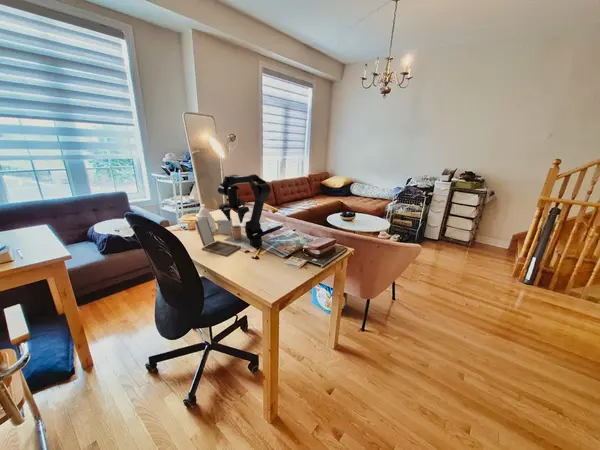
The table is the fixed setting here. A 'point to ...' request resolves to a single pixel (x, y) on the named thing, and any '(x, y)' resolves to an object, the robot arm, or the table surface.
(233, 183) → the robot arm
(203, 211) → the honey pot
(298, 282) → the table surface
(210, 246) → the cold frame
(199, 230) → the propped lid
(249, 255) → the table surface
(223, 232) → the small box
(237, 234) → the terracotta pot
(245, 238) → the slate tile
